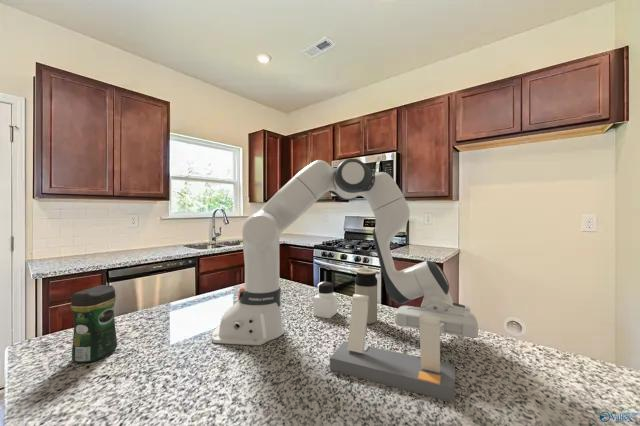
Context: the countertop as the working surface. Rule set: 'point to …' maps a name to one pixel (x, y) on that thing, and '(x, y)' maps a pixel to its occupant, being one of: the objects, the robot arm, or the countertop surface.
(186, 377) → the countertop surface
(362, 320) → the inner lever
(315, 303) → the medicine bottle
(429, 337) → the outer lever
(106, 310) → the coffee jar
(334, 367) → the switch unit
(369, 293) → the travel mug
